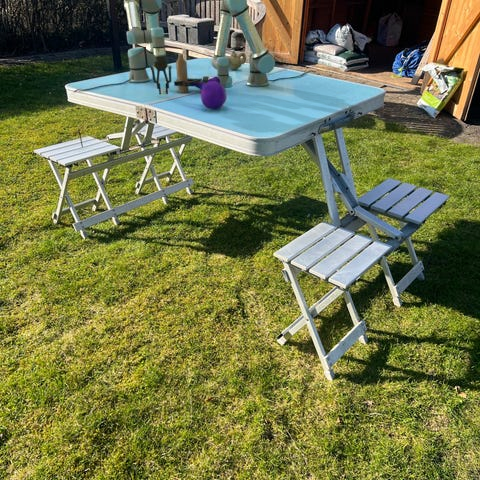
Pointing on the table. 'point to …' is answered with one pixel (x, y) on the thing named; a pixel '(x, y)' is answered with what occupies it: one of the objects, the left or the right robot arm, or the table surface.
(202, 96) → the toy
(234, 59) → the beige rounded piece
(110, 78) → the table surface
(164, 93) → the cap
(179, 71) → the bottle
